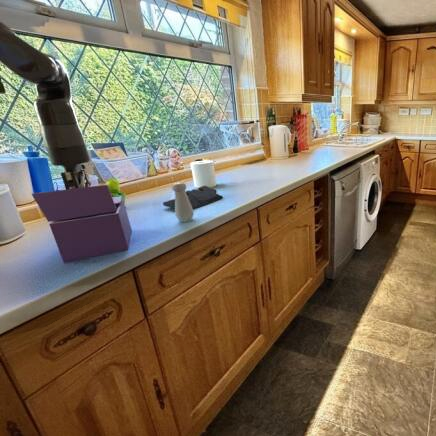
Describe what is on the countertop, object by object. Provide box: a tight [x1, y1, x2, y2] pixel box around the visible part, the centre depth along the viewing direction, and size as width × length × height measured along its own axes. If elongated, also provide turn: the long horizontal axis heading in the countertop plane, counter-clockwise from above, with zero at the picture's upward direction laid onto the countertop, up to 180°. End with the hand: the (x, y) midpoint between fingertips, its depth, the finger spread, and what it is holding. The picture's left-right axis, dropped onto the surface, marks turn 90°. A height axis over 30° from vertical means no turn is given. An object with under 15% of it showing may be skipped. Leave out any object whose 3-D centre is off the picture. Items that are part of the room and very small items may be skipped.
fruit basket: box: [104, 177, 126, 205], centre depth 120 cm, size 11×9×11 cm
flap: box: [31, 184, 117, 223], centre depth 72 cm, size 8×14×1 cm
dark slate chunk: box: [162, 186, 224, 210], centre depth 123 cm, size 15×22×5 cm
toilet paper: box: [190, 160, 218, 189], centre depth 150 cm, size 10×10×12 cm
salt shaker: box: [171, 182, 195, 223], centre depth 101 cm, size 6×6×13 cm
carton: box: [48, 196, 132, 264], centre depth 84 cm, size 17×14×11 cm
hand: (86, 207), depth 79 cm, fingers open, 8 cm apart
